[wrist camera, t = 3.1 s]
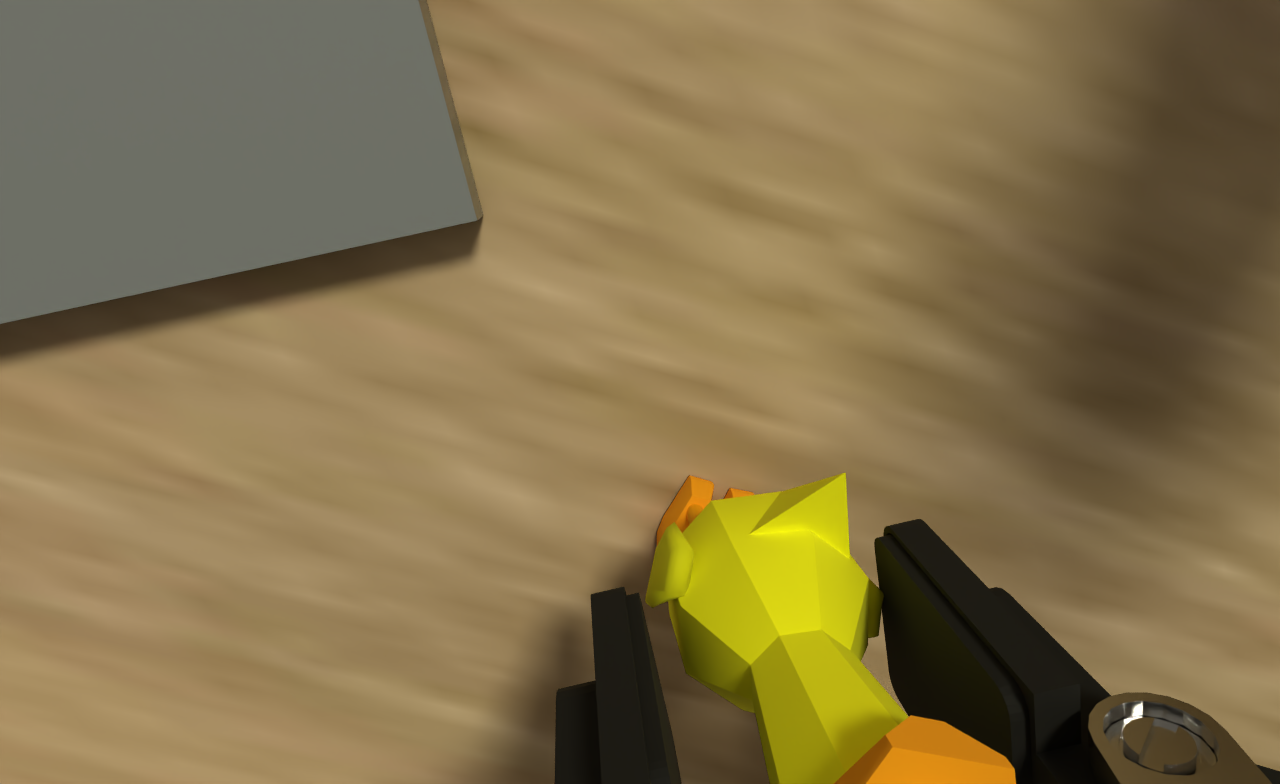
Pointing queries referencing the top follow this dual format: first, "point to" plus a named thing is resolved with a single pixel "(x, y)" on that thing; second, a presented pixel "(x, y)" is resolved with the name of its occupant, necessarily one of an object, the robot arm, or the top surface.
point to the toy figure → (797, 638)
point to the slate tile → (214, 140)
